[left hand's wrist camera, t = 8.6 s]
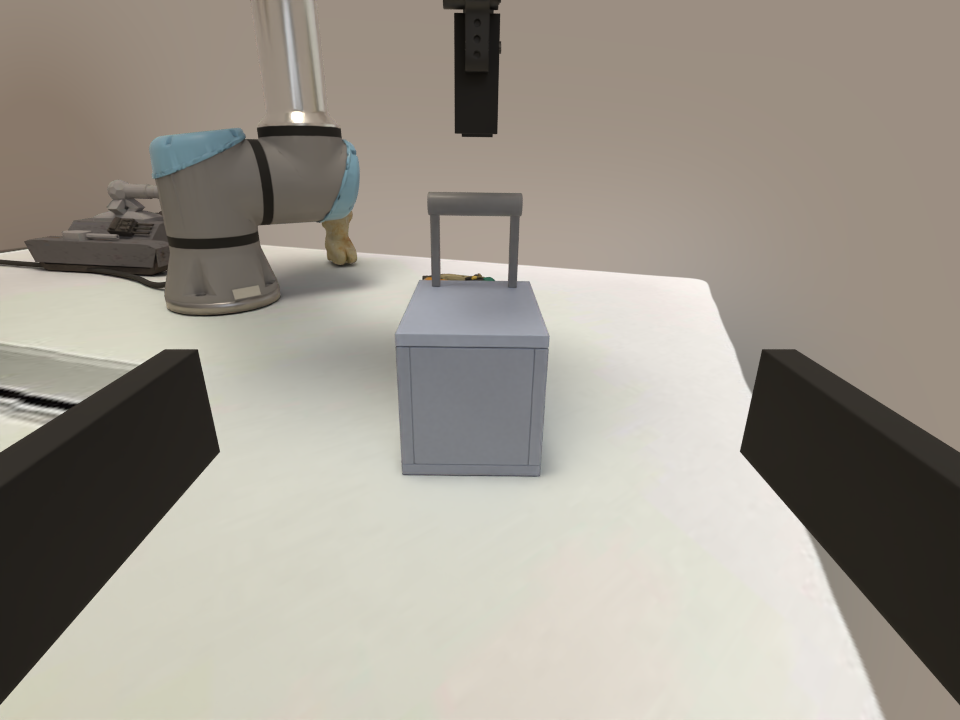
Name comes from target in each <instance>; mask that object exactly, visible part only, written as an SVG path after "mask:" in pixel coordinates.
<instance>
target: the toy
mask: <svg viewBox="0 0 960 720" xmlns="http://www.w3.org/2000/svg"><path fill="white" fill-rule="evenodd" d="M108 194H109V195H110V197H111V198H112V199H113V200H112V201H111V203H110V204H109V205H108V206H107V208H108V210H110V211H109V212H105V213H102V214H99V215H96V216H94V217H93V218H88V219H82V220H75V221H73V223H72V225H71V226H70V228H69V230H68V231H63V232H62V235H63V236H49V237H43V238H37V239H31V240H27V241H25V244H26V246H27V247H28V249H29V251H30V253H31V255H32V256H33V258H34V260H35V262H40V264H41V265H42V267H43V268H45V269H47V270H59V271H81V272H90V271H87V270H86V269H87V268H102V269H109V270H115V271H120V272H125V273H130V274H146V275H153V274H156V273H159V272H163V271H166V270H168V263H169V256H170V249H169V244H168V239H167V235H166V230H165V225H164V220H163V215H162V211H161V212H159V213H152V212H148V211H143V209H144V208H145V207H144V206H143V205H142V204H140V203H139V202H138V201H136V200H135V199H134V198H140V199H152V198H158V199H159V195H158V191H157V186H151V185H140V184H129V183H128V182H125V181H122V180H115V181H113V182H111V183H110V184H109V186H108Z"/></svg>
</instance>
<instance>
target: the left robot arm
mask: <svg viewBox="0 0 960 720" xmlns="http://www.w3.org/2000/svg"><path fill="white" fill-rule="evenodd" d="M219 452H220V449H219V445H218V440H217V436H216V431H215V426H214V422H213V417H212V413H211V408H210V403H209V399H208V394H207V390H206V385H205V380H204V376H203V371H202V367H201V362H200V358H199V353H198V349H165V350H163V351H162V352H160V353H158V354H157V355H155V356H154V357H152V358H150V359H149V360H147V361H146V362H144V363H142V364H141V365H139V366H138V367H136V368H134V369H133V370H131V371H130V372H128V373H126V374H125V375H123V376H122V377H120V378H118V379H117V380H115V381H114V382H112V383H110V384H109V385H107V386H106V387H104V388H103V389H101V390H99V391H98V392H96V393H95V394H93V395H91V396H90V397H88V398H87V399H85V400H83V401H82V402H80V403H79V404H77V405H75V406H74V407H72V408H71V409H69V410H67V411H66V412H64V413H63V414H61V415H59V416H58V417H56V418H55V419H53V420H51V421H50V422H48V423H47V424H45V425H43V426H42V427H40V428H39V429H37V430H35V431H34V432H32V433H31V434H29V435H27V436H26V437H24V438H23V439H21V440H19V441H18V442H16V443H15V444H13V445H11V446H10V447H8V448H7V449H5V450H4V451H2V452H0V705H1V703H2V702H3V701H4V700H5V699H6V698H7V697H8V695H9V694H10V693H11V692H12V691H13V690H14V688H15V687H16V686H17V685H18V684H19V683H20V682H21V680H22V679H23V678H24V677H25V676H26V675H27V673H28V672H29V671H30V670H31V669H32V668H33V667H34V665H35V664H36V663H37V662H38V661H39V660H40V658H41V657H42V656H43V655H44V654H45V653H46V652H47V650H48V649H49V648H50V647H51V646H52V645H53V644H54V642H55V641H56V640H57V639H58V638H59V637H60V635H61V634H62V633H63V632H64V631H65V630H66V629H67V627H68V626H69V625H70V624H71V623H72V622H73V620H74V619H75V618H76V617H77V616H78V615H79V614H80V612H81V611H82V610H83V609H84V608H85V607H86V605H87V604H88V603H89V602H90V601H91V600H92V599H93V597H94V596H95V595H96V594H97V593H98V592H99V590H100V589H101V588H102V587H103V586H104V585H105V584H106V582H107V581H108V580H109V579H110V578H111V577H112V576H113V574H114V573H115V572H116V571H117V570H118V569H119V567H120V566H121V565H122V564H123V563H124V562H125V561H126V559H127V558H128V557H129V556H130V555H131V554H132V552H133V551H134V550H135V549H136V548H137V547H138V546H139V544H140V543H141V542H142V541H143V540H144V539H145V537H146V536H147V535H148V534H149V533H150V532H151V531H152V529H153V528H154V527H155V526H156V525H157V524H158V523H159V521H160V520H161V519H162V518H163V517H164V516H165V514H166V513H167V512H168V511H169V510H170V509H171V508H172V506H173V505H174V504H175V503H176V502H177V501H178V499H179V498H180V497H181V496H182V495H183V494H184V493H185V491H186V490H187V489H188V488H189V487H190V486H191V484H192V483H193V482H194V481H195V480H196V479H197V478H198V476H199V475H200V474H201V473H202V472H203V471H204V470H205V468H206V467H207V466H208V465H209V464H210V463H211V461H212V460H213V459H214V458H215V457H216V456H217V455H218V453H219ZM740 452H741V453H742V455H743V456H744V457H745V458H746V459H747V460H748V461H749V463H750V464H751V465H752V466H753V467H754V468H755V470H756V471H757V472H758V473H759V474H760V475H761V476H762V478H763V479H764V480H765V481H766V482H767V483H768V484H769V486H770V487H771V488H772V489H773V490H774V491H775V493H776V494H777V495H778V496H779V497H780V498H781V499H782V501H783V502H784V503H785V504H786V505H787V506H788V508H789V509H790V510H791V511H792V512H793V513H794V514H795V516H796V517H797V518H798V519H799V520H800V521H801V523H802V524H803V525H804V526H805V527H806V528H807V529H808V531H809V532H810V533H811V534H812V535H813V536H814V537H815V539H816V540H817V541H818V542H819V543H820V544H821V546H822V547H823V548H824V549H825V550H826V551H827V552H828V554H829V555H830V556H831V557H832V558H833V559H834V561H835V562H836V563H837V564H838V565H839V566H840V567H841V569H842V570H843V571H844V572H845V573H846V574H847V576H848V577H849V578H850V579H851V580H852V581H853V582H854V584H855V585H856V586H857V587H858V588H859V589H860V590H861V592H862V593H863V594H864V595H865V596H866V597H867V599H868V600H869V601H870V602H871V603H872V604H873V605H874V607H875V608H876V609H877V610H878V611H879V612H880V614H881V615H882V616H883V617H884V618H885V619H886V620H887V622H888V623H889V624H890V625H891V626H892V627H893V628H894V630H895V631H896V632H897V633H898V634H899V635H900V637H901V638H902V639H903V640H904V641H905V642H906V644H907V645H908V646H909V647H910V648H911V649H912V650H913V652H914V653H915V654H916V655H917V656H918V657H919V658H920V660H921V661H922V662H923V663H924V664H925V665H926V667H927V668H928V669H929V670H930V671H931V672H932V673H933V675H934V676H935V677H936V678H937V679H938V680H939V682H940V683H941V684H942V685H943V686H944V687H945V688H946V690H947V691H948V692H949V693H950V694H951V695H952V697H953V698H954V699H955V700H956V701H957V702H958V703H959V705H960V452H958V451H956V450H955V449H953V448H952V447H950V446H949V445H947V444H945V443H944V442H942V441H941V440H939V439H937V438H936V437H934V436H932V435H931V434H929V433H928V432H926V431H925V430H923V429H921V428H920V427H918V426H917V425H915V424H913V423H912V422H910V421H909V420H907V419H905V418H904V417H902V416H901V415H899V414H897V413H896V412H894V411H893V410H891V409H889V408H888V407H886V406H885V405H883V404H881V403H880V402H878V401H877V400H875V399H873V398H872V397H870V396H869V395H867V394H865V393H864V392H862V391H861V390H859V389H857V388H856V387H854V386H853V385H851V384H850V383H848V382H846V381H845V380H843V379H842V378H840V377H838V376H837V375H835V374H834V373H832V372H830V371H829V370H827V369H825V368H824V367H822V366H821V365H819V364H818V363H816V362H814V361H813V360H811V359H810V358H808V357H806V356H805V355H803V354H802V353H800V352H798V351H797V350H795V349H791V350H790V349H788V350H787V349H783V350H780V349H777V350H776V349H763V350H762V353H761V358H760V362H759V367H758V371H757V376H756V380H755V385H754V390H753V394H752V399H751V403H750V408H749V413H748V417H747V422H746V426H745V431H744V436H743V440H742V445H741V449H740Z"/></svg>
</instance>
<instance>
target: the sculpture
mask: <svg viewBox="0 0 960 720" xmlns="http://www.w3.org/2000/svg"><path fill="white" fill-rule="evenodd" d="M352 215H353V214H352V211H351V212H350V213H349V214H348V215H347V216H346V217H344V218H342V219H337V220H329V221H324V222H322V226H323V227H324V228H325V229H326V238H325V248H326V250H327V258H328V260H330V261H332V262H333V263H334V264H338V265H343V264H345V263H349V264H352V263H354V262H356V260H357V254H356V250H355V248H354V246H353V244H352V242H351V240H350V239H349V237H348V228H349V222H350V221H351V219H352Z"/></svg>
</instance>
